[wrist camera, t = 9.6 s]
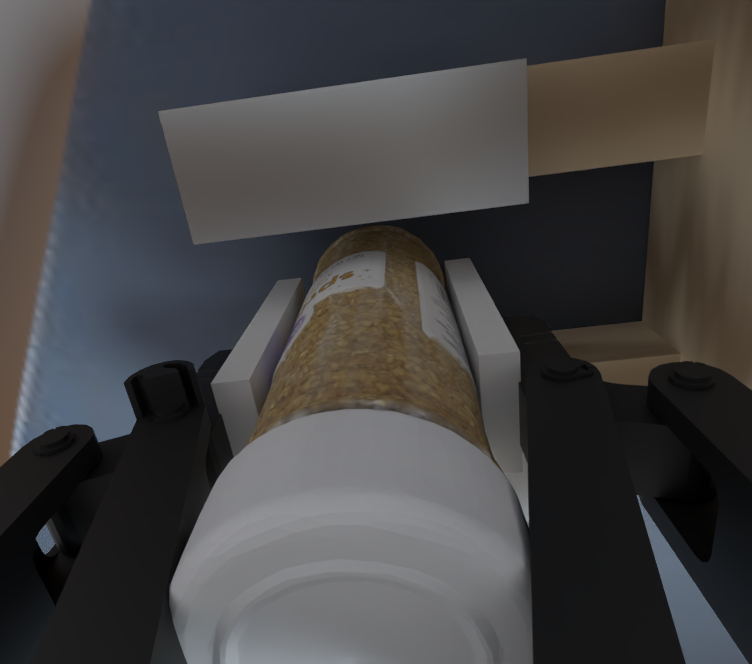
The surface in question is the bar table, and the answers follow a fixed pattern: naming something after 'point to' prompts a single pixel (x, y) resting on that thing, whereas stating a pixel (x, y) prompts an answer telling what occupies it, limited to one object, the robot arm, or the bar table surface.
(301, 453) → the sprinkles bottle
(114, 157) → the bar table surface
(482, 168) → the headboard stand
